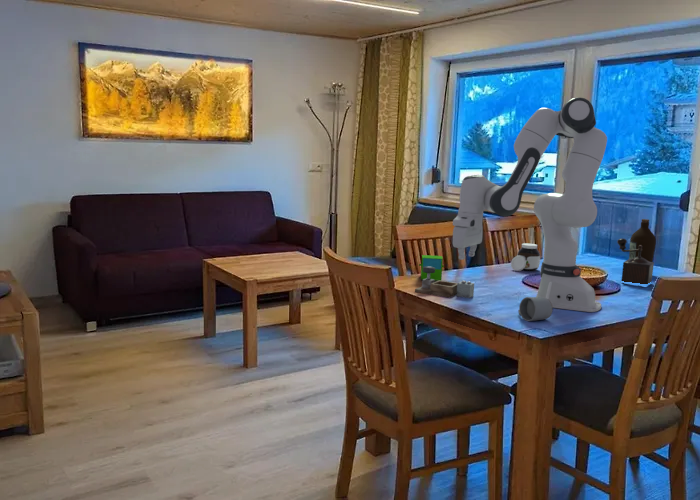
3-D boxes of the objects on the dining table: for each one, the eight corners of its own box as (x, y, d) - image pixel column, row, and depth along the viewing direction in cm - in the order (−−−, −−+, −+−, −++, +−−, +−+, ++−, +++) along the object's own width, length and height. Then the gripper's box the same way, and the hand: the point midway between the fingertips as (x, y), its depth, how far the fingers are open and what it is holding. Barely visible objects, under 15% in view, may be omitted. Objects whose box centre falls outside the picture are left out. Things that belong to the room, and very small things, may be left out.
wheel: (436, 279, 242) (437, 266, 241) (431, 281, 238) (432, 268, 237) (425, 277, 244) (426, 265, 244) (420, 279, 241) (421, 267, 240)
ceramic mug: (553, 321, 205) (555, 298, 204) (534, 323, 201) (536, 300, 200) (530, 313, 214) (531, 291, 213) (511, 315, 210) (513, 293, 209)
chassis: (462, 291, 241) (462, 281, 240) (449, 297, 231) (450, 286, 230) (428, 286, 248) (429, 276, 248) (414, 291, 238) (415, 281, 238)
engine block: (473, 296, 235) (474, 281, 234) (469, 298, 231) (470, 283, 230) (460, 294, 237) (461, 279, 236) (456, 296, 234) (457, 281, 233)
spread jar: (539, 269, 292) (542, 244, 290) (537, 273, 281) (539, 247, 279) (513, 266, 296) (515, 241, 294) (509, 270, 286) (511, 245, 284)
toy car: (442, 276, 268) (444, 253, 266) (443, 283, 255) (445, 258, 253) (418, 275, 269) (419, 251, 267) (418, 282, 256) (419, 257, 254)
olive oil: (647, 272, 294) (654, 218, 290) (655, 277, 284) (662, 221, 279) (623, 271, 295) (629, 217, 291) (630, 275, 285) (636, 220, 281)
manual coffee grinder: (652, 283, 270) (657, 241, 267) (647, 287, 261) (652, 244, 258) (614, 278, 279) (618, 237, 276) (607, 281, 270) (612, 239, 267)
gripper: (472, 217, 240) (469, 253, 242) (450, 220, 223) (447, 259, 225) (488, 219, 237) (484, 255, 239) (467, 223, 220) (464, 262, 222)
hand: (466, 257), depth 232 cm, fingers open, 8 cm apart
